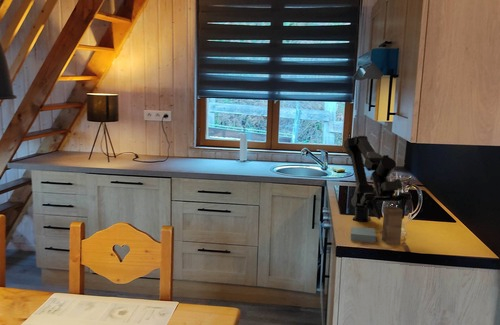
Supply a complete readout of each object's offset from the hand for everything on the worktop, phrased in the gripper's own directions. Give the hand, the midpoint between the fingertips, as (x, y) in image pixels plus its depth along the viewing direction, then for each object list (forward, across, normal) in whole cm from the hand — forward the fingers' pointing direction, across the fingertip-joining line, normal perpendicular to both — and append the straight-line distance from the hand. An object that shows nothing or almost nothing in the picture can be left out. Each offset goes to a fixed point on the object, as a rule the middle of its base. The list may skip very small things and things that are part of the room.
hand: (391, 218), depth 168 cm
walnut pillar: (+7, 0, +6) cm, 9 cm away
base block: (+3, -9, +10) cm, 14 cm away
